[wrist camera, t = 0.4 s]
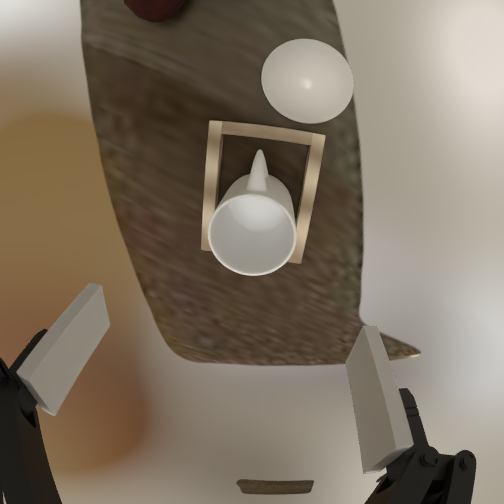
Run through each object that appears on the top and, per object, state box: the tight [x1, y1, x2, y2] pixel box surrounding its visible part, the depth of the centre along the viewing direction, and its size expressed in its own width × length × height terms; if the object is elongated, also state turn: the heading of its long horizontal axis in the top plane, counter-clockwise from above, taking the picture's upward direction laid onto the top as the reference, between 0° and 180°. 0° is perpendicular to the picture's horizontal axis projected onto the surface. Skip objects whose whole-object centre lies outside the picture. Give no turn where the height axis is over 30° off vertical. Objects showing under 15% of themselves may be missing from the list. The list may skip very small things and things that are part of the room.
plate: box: [261, 39, 354, 123], centre depth 28 cm, size 11×11×1 cm
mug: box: [208, 150, 297, 276], centre depth 31 cm, size 9×12×11 cm
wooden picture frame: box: [201, 120, 325, 264], centre depth 35 cm, size 17×14×2 cm
